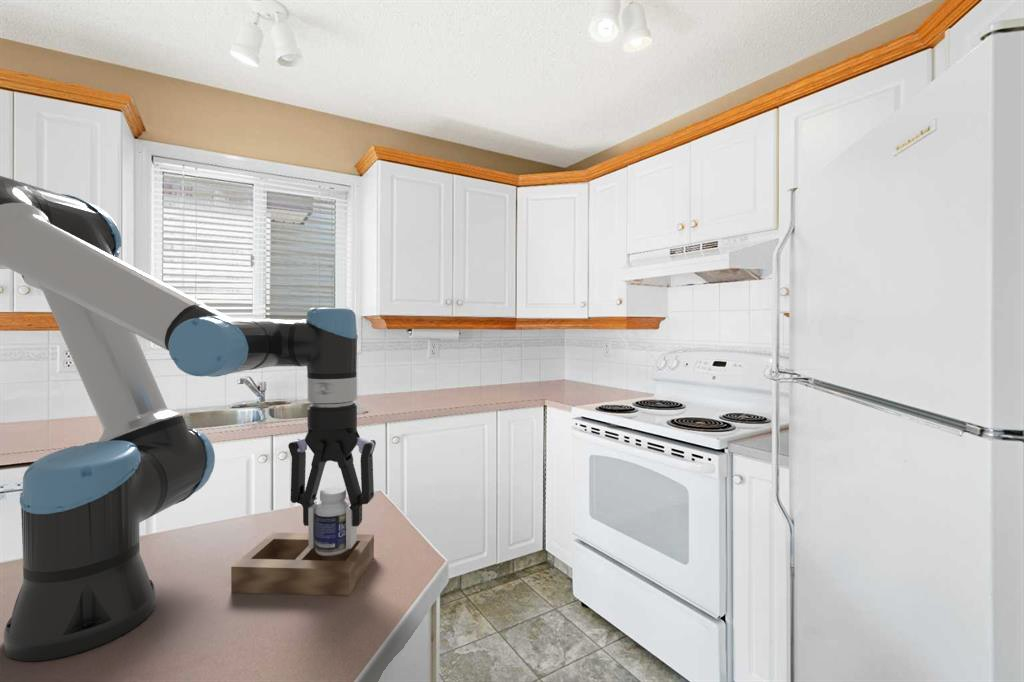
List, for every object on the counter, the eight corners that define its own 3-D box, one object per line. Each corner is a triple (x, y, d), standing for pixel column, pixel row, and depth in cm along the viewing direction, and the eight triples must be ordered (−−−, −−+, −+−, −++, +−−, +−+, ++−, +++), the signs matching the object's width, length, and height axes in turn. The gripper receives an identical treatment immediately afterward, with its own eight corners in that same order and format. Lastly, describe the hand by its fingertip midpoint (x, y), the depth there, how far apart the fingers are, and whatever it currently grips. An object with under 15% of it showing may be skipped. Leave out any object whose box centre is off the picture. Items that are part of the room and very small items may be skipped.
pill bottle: (343, 557, 75) (343, 496, 75) (309, 556, 75) (309, 495, 75) (355, 542, 80) (355, 484, 80) (323, 541, 80) (323, 484, 80)
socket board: (231, 592, 72) (231, 566, 72) (272, 554, 84) (272, 532, 84) (349, 595, 72) (349, 569, 72) (373, 557, 84) (373, 534, 84)
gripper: (263, 406, 73) (264, 554, 74) (382, 407, 73) (382, 556, 74) (287, 399, 81) (288, 533, 81) (395, 400, 80) (394, 535, 81)
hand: (332, 544), depth 78 cm, fingers closed on pill bottle, 5 cm apart
